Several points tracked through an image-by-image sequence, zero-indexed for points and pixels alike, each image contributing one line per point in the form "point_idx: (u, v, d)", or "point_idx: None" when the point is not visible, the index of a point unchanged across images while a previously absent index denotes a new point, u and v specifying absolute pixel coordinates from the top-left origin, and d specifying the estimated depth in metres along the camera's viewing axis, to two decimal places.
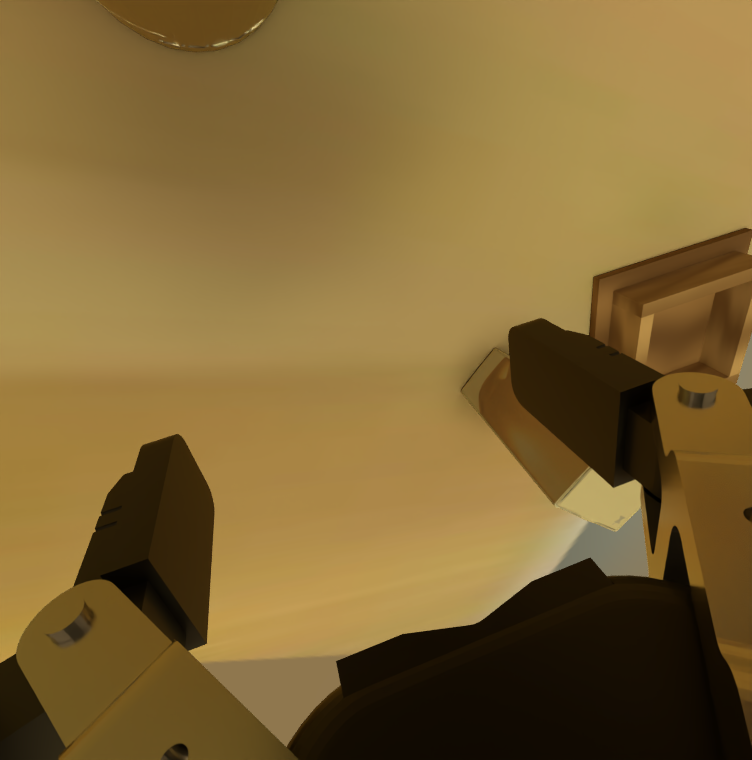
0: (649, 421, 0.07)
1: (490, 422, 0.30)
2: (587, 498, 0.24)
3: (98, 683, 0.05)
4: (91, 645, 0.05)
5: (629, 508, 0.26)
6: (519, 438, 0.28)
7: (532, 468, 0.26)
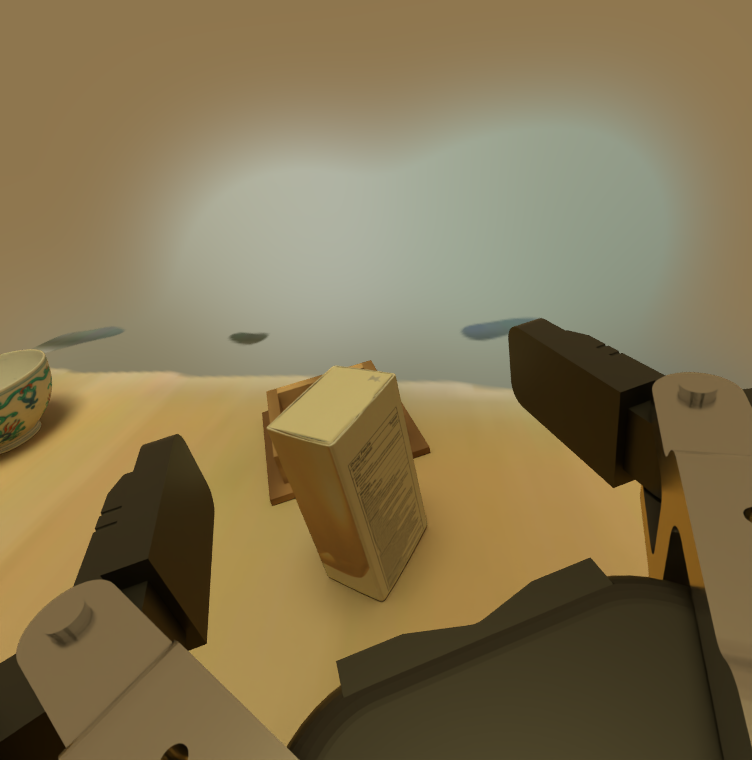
0: (649, 421, 0.07)
1: (361, 551, 0.24)
2: (329, 418, 0.22)
3: (98, 683, 0.05)
4: (90, 645, 0.05)
5: (359, 377, 0.24)
6: (337, 512, 0.23)
7: (336, 485, 0.22)
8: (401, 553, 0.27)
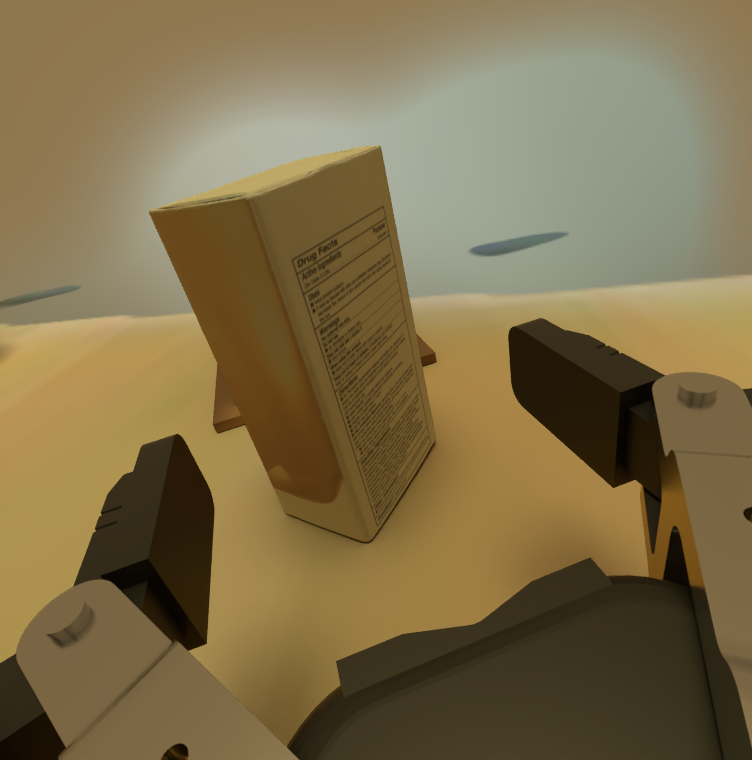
0: (649, 421, 0.07)
1: (328, 446, 0.14)
2: (258, 180, 0.12)
3: (98, 683, 0.05)
4: (90, 646, 0.05)
5: (321, 156, 0.15)
6: (282, 370, 0.13)
7: (273, 300, 0.12)
8: (397, 469, 0.17)
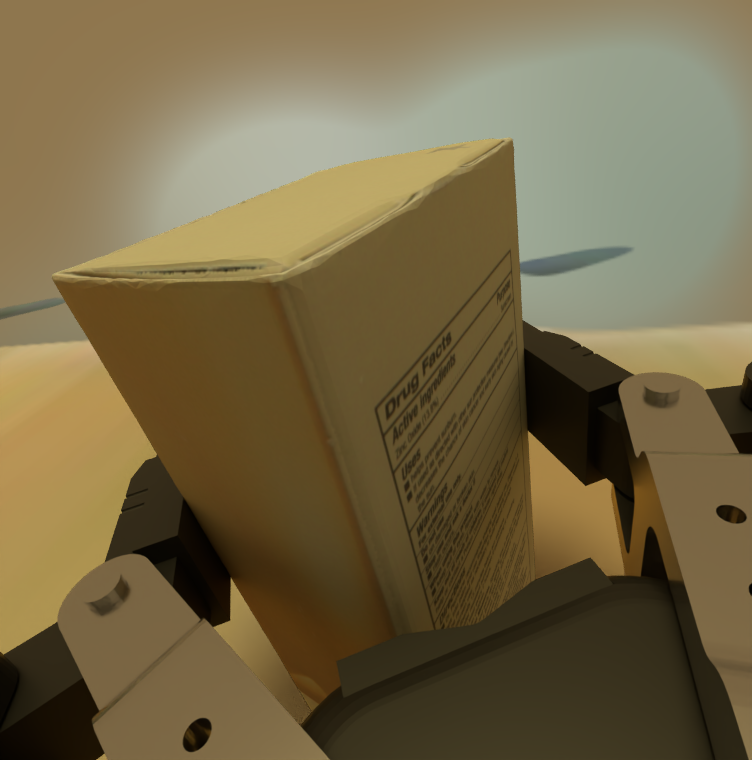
0: (616, 420, 0.08)
1: None
2: (292, 214, 0.05)
3: (139, 646, 0.05)
4: (125, 615, 0.06)
5: (398, 157, 0.08)
6: (333, 595, 0.06)
7: (326, 496, 0.05)
8: None
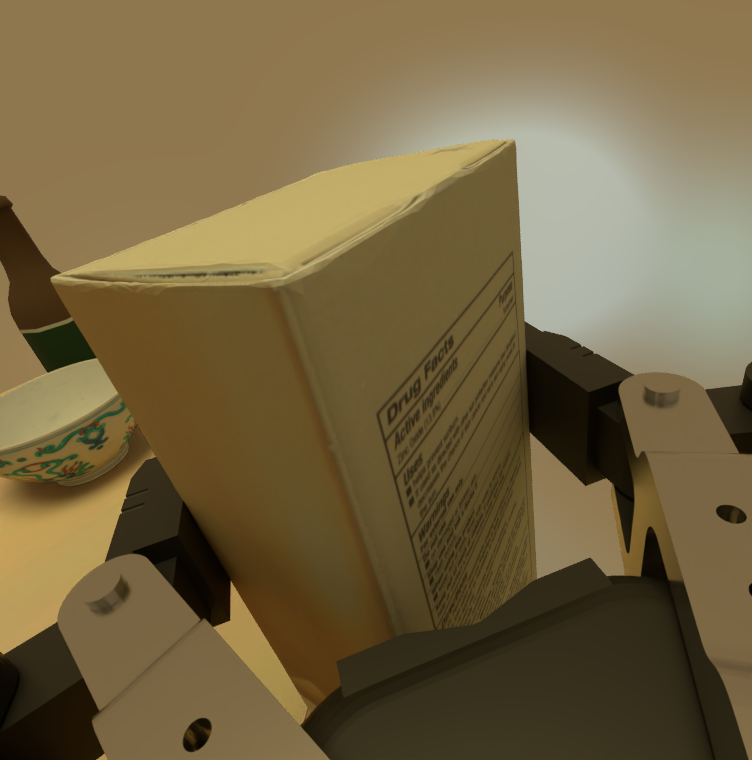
0: (616, 420, 0.08)
1: None
2: (292, 217, 0.05)
3: (139, 646, 0.05)
4: (125, 616, 0.06)
5: (400, 158, 0.08)
6: (335, 600, 0.06)
7: (326, 502, 0.05)
8: None
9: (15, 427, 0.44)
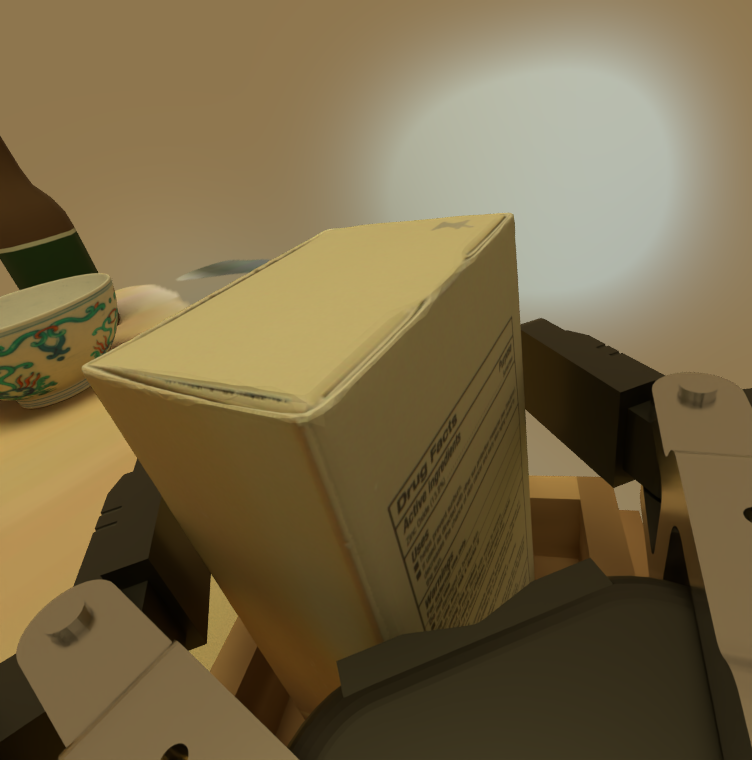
0: (649, 421, 0.07)
1: None
2: (308, 320, 0.05)
3: (98, 684, 0.05)
4: (91, 645, 0.05)
5: (404, 229, 0.08)
6: None
7: (342, 585, 0.05)
8: None
9: None
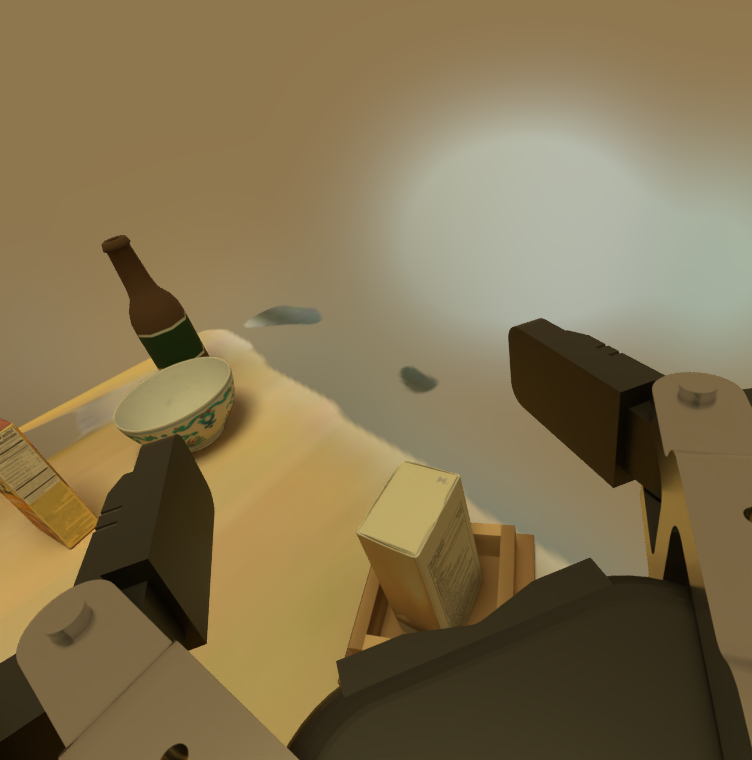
0: (649, 421, 0.07)
1: (436, 622, 0.29)
2: (410, 526, 0.26)
3: (98, 683, 0.05)
4: (90, 645, 0.05)
5: (428, 477, 0.28)
6: (417, 596, 0.27)
7: (418, 580, 0.26)
8: (465, 612, 0.32)
9: (145, 409, 0.61)
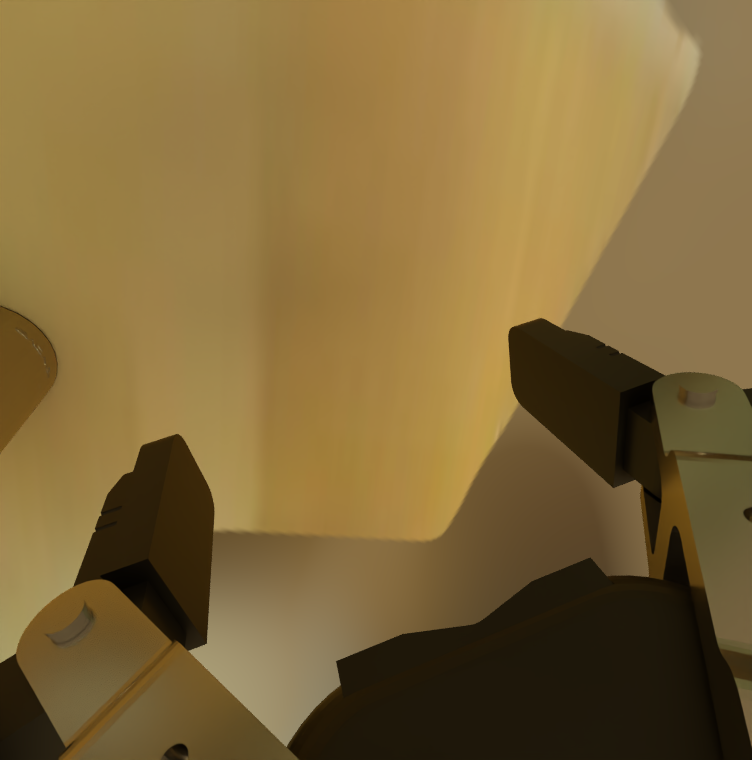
0: (649, 421, 0.07)
1: None
2: None
3: (98, 683, 0.05)
4: (91, 645, 0.05)
5: None
6: None
7: None
8: None
9: None
